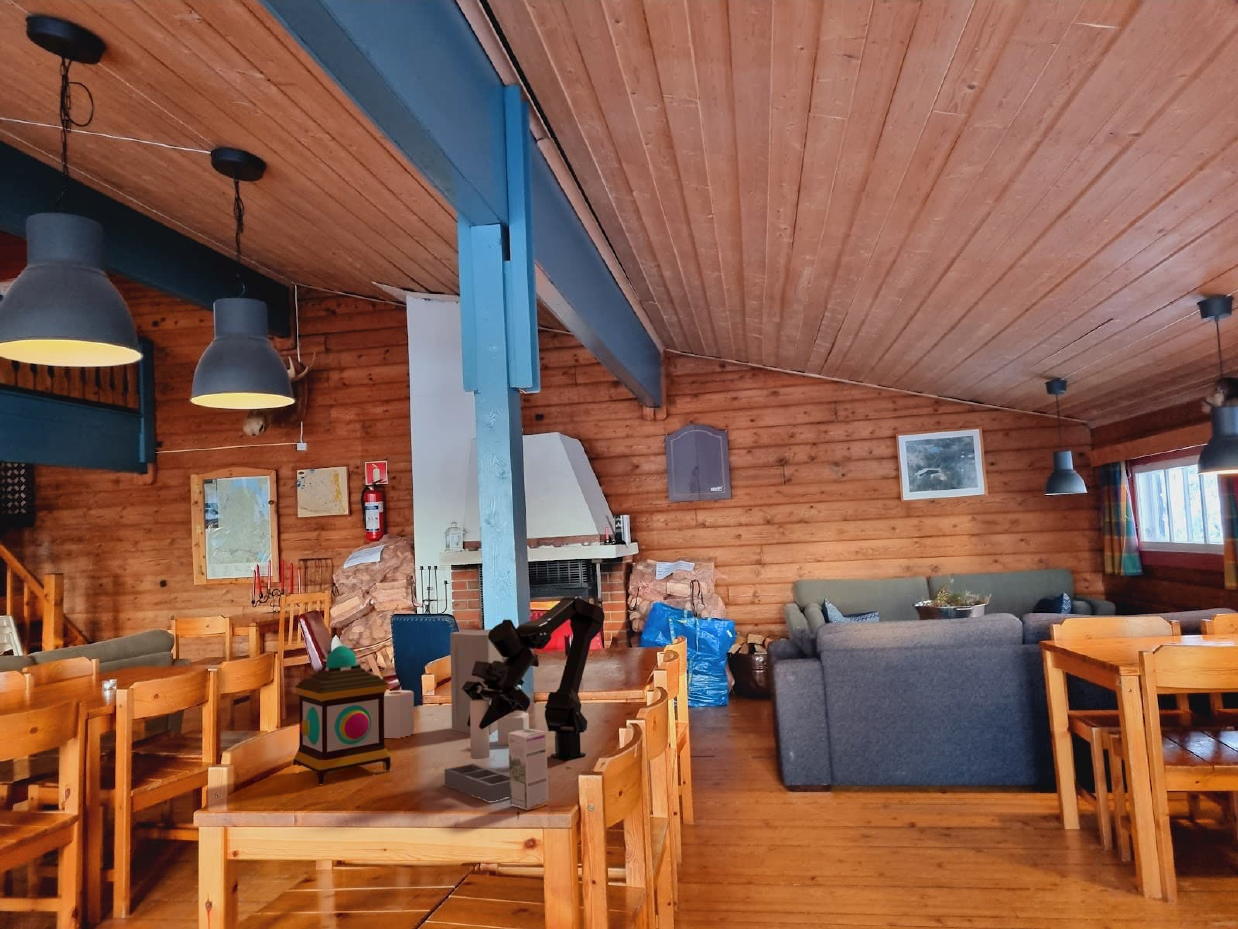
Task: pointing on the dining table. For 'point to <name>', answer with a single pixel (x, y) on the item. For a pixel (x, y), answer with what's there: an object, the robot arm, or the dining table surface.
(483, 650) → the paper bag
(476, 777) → the caddy
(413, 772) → the dining table surface
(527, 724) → the medicine bottle
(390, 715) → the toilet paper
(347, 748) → the decorative lantern
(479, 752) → the beige tapered cylinder
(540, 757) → the syrup box
